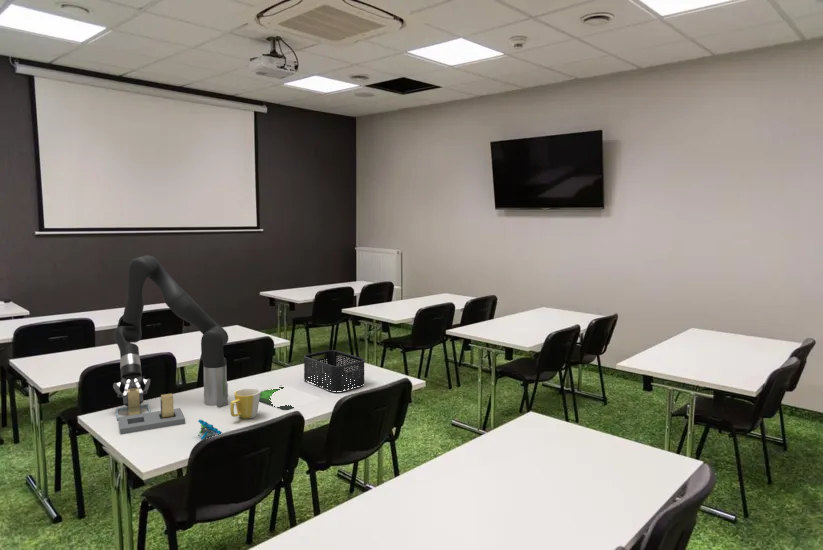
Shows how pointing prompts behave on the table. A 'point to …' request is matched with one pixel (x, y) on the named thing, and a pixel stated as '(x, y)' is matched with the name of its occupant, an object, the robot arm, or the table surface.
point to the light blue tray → (127, 409)
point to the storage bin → (334, 370)
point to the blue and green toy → (207, 428)
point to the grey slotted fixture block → (149, 421)
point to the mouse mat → (266, 396)
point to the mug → (246, 403)
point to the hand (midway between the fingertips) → (133, 404)
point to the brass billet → (133, 401)
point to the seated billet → (167, 406)
